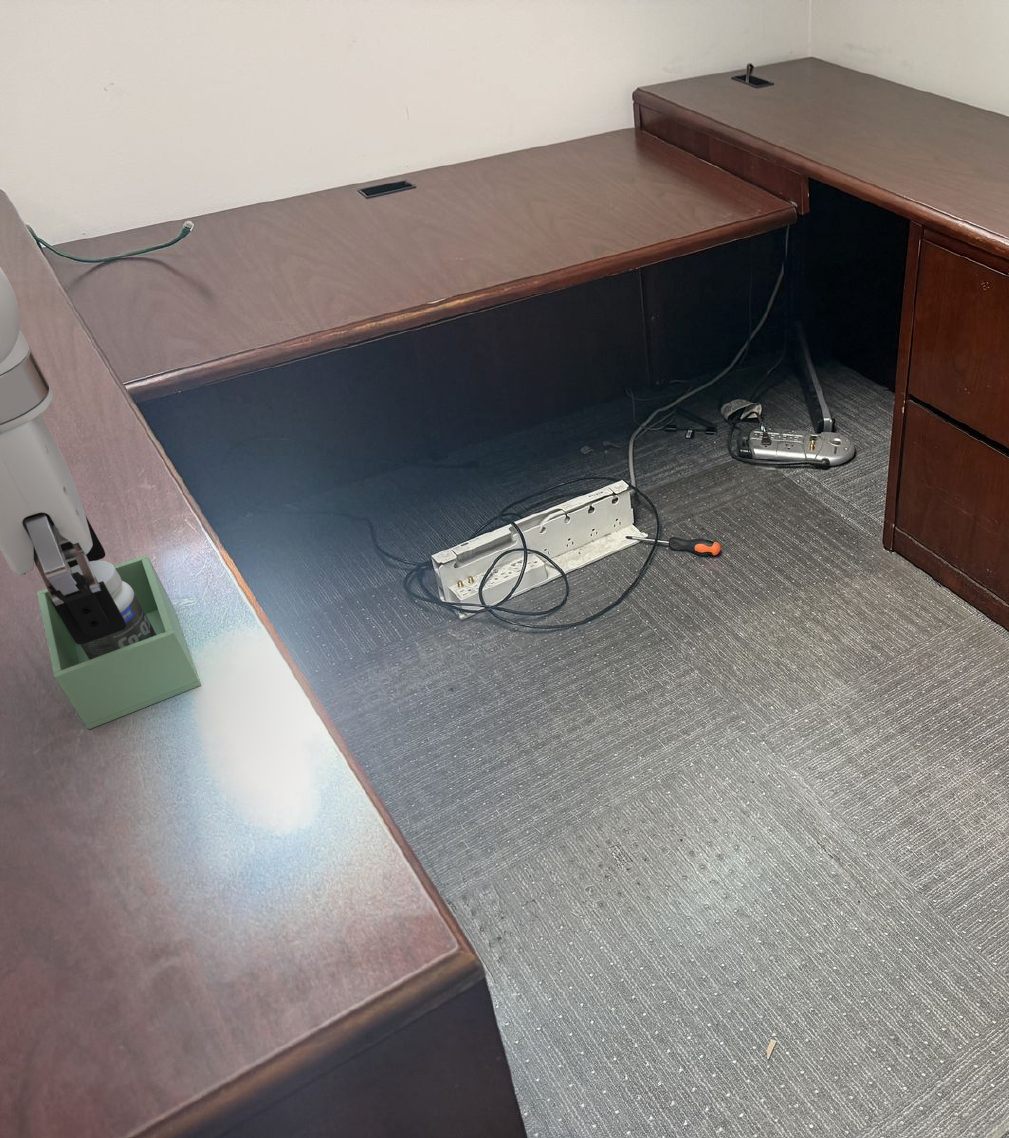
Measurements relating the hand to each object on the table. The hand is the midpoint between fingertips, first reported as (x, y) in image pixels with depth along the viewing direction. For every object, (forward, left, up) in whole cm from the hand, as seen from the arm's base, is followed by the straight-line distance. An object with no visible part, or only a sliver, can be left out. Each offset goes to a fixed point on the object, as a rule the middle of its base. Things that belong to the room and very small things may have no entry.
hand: (92, 597), depth 76 cm
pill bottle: (0, 0, -7) cm, 7 cm away
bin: (0, 0, -7) cm, 7 cm away
